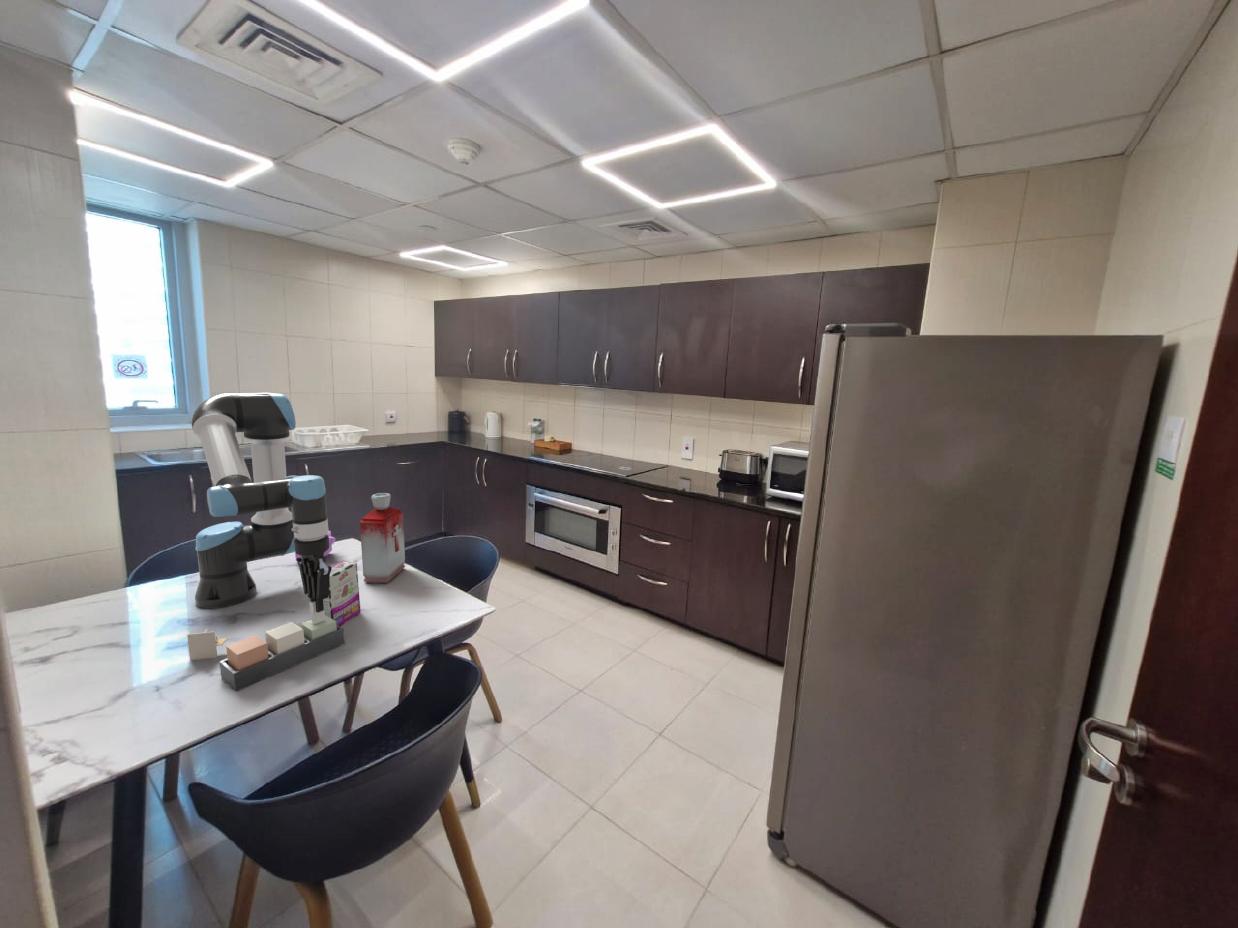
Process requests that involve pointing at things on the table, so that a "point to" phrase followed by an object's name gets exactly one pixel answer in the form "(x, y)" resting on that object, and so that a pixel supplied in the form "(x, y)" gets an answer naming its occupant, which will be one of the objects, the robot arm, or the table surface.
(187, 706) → the table surface
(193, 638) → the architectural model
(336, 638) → the grey compartment tray
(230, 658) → the terracotta key
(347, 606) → the candy bar box
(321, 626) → the sage key
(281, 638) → the ivory key
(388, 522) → the bottle
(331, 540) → the teapot
